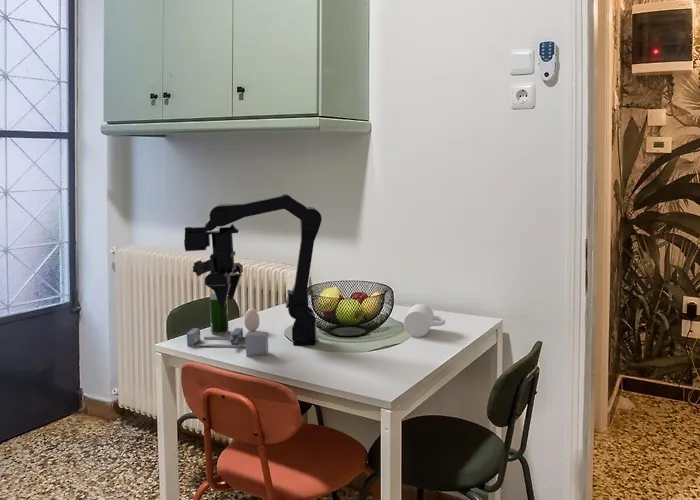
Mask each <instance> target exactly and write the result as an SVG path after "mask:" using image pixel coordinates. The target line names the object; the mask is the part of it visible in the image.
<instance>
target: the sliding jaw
mask: <svg viewBox="0 0 700 500" xmlns="http://www.w3.org/2000/svg"><path fill="white" fill-rule="evenodd" d="M243 330H244V329H243V327H242V328H241V327H240V328H238V327H237V328H235V329H233V331H232V332H231V333H230V336H229V337H231V339H229V342H230V345H241V342H242V341H243V340H244V339H243V337H244V331H243Z"/></svg>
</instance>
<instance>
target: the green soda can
mask: <svg viewBox="0 0 700 500" xmlns="http://www.w3.org/2000/svg"><path fill="white" fill-rule="evenodd" d="M228 308H229V307H228V298H227V299H226V303H225V306H224V307H220V305H219V302H218V300H217V297H216V294H215V292H214V293H211V294H209V314H210V315H209V317H210V318H209V319H210V321H209V322H210V332H211V334H212V335H225V334H227V333H228V332H229V310H228Z"/></svg>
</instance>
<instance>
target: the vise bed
mask: <svg viewBox="0 0 700 500" xmlns="http://www.w3.org/2000/svg"><path fill="white" fill-rule="evenodd" d="M200 339H201V329H200V328H199V327H197V328H196V327H193V328H191V329H190V330H189V331H188V332H187V333H186V344H187V345H194V346H196V348H198V347H197V346H214V347H213V348H216V347H215V346H219V347H218V348H246V344H239V345H231V344H213V343H212V344H207V343H206V344H203V343H201V344H200V343H199V344H198V342H200V341H201V340H200ZM203 339H204V340H231V336H203ZM243 340H246V337H245V336H243ZM187 345H186V346H187ZM220 346H221V347H220Z"/></svg>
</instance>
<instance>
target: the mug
mask: <svg viewBox="0 0 700 500" xmlns="http://www.w3.org/2000/svg"><path fill="white" fill-rule="evenodd" d="M445 324H446V319H445V318H444V317H442V316H439V315H434V312H433V310H432V308H431V307H430V306H429V305H427V304H424V303H416V304H414V305H413V306H412V307H411V308H410V309H409V311H408V312H407V314H406V316H405V317H404V320H403V327H404V331H405V332H406V333H407V334H408V335H409V336H411V337H414V338H421V337H424V336H425V335H426V334H428V332H429V331H430V329H431V327H441V326H444V325H445Z"/></svg>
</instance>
